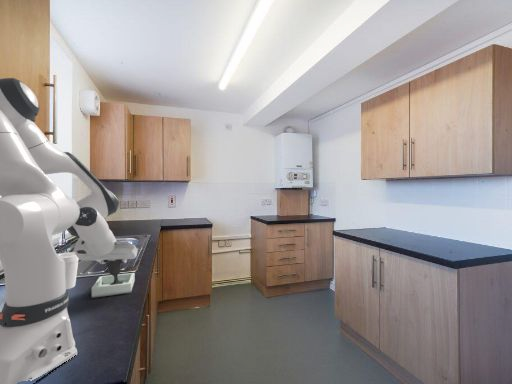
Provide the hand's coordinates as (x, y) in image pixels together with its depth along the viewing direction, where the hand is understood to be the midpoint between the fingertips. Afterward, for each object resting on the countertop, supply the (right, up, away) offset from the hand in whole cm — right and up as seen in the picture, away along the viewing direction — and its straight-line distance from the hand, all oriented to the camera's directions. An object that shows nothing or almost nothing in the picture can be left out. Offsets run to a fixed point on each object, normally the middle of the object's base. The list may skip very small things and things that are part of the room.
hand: (114, 261), depth 104 cm
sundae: (+1, -9, 0) cm, 9 cm away
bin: (0, -10, 0) cm, 10 cm away
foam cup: (-20, -11, +2) cm, 23 cm away
